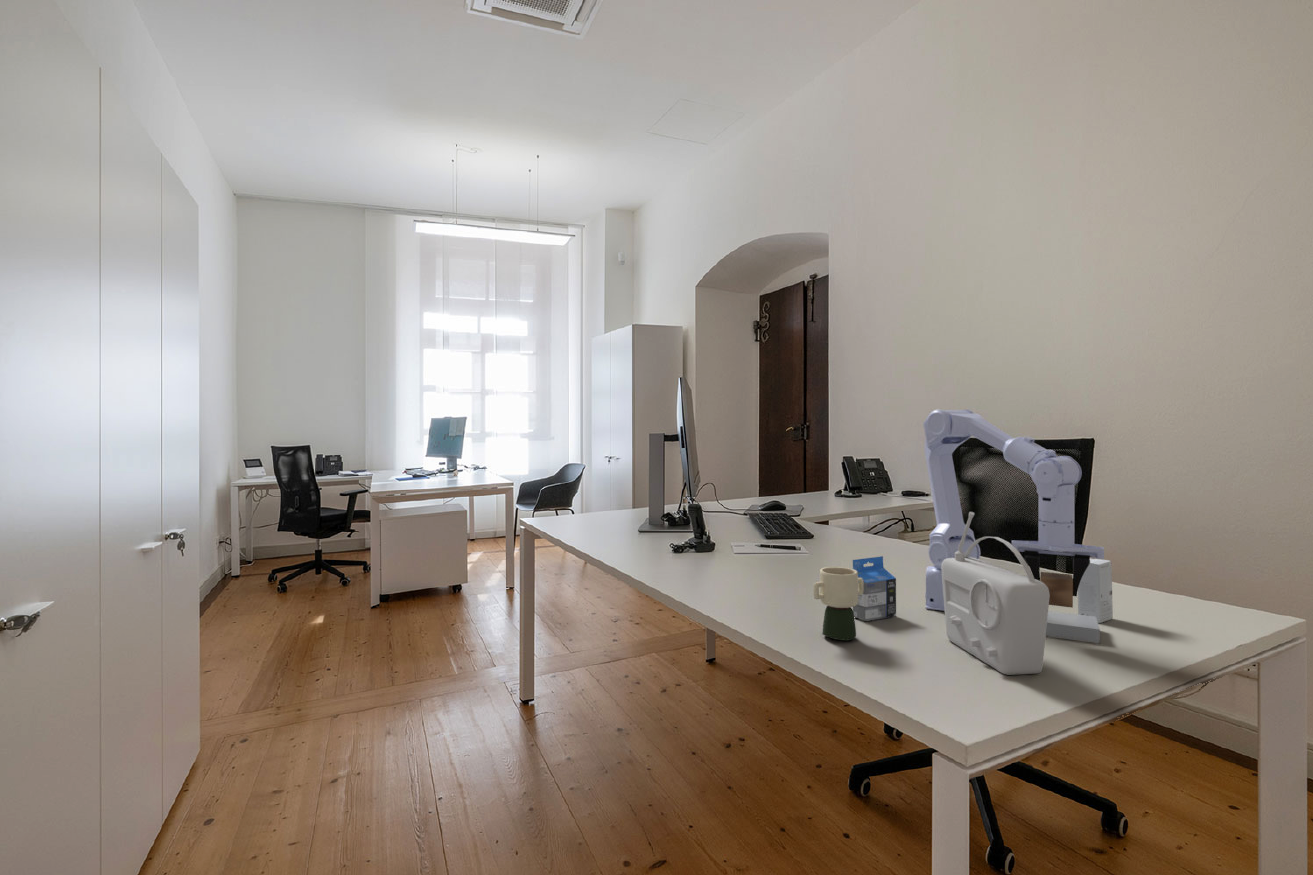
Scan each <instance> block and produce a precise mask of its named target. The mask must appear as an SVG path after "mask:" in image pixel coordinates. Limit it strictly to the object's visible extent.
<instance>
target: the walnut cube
mask: <svg viewBox="0 0 1313 875" xmlns="http://www.w3.org/2000/svg"><path fill="white" fill-rule="evenodd" d="M1040 581H1041V582H1043V583H1044V584H1045V585H1046V586H1047V587H1048V589H1049V594H1050V597H1049V606H1056V607H1062V608H1063V607H1065V608H1073V607H1074V605H1073V604H1074V598H1073V597H1074V596H1073V574H1070V573H1069V574H1068V573H1060V572H1049V571H1040Z"/></svg>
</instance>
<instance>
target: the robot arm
mask: <svg viewBox="0 0 1313 875" xmlns="http://www.w3.org/2000/svg"><path fill="white" fill-rule="evenodd" d="M923 430H924V435H925V441H924V447H923V448H924V455H925V462H926V467H927V473H928V474H927V475H928V479H929V486H930V491H931V497H932V504H933V509H934V514H935V516H934V517H935V521H936V526H935V528H933V530H932V531H931V532H930V533H929V536H928V537H929V547H928V558H929V560H930V561H931V564H933V566H931V565H929V566H927V567H926V572H925V596H924V597H925V609H927V610H934V611H935V610H936V611H942V612H945V608H944V595H943V582H942V570H941V566H942V562H943V560H945V559H947V558H955V552H957V551H958V547H959V544H960V541H961V539H962V536H963V533H964V530H965V527H966V523H965V521H964V517H963V510H962V506H961V500H960V494H959V488H958V483H957V477H956V476H957V475H956V471H955V465H954V460H953V454H954V452H955V450H956V449H957V448H958V447H959V446H960V445H962V444H964V442H966V441H968V440H969V439H970V438H972V437H973V438H976V439H978V440H980V441H981V442H983V443H985V444H987V445H989V446H991V447H993V448H994V449H996V450H999V451H1001V452H1002V453H1003V459H1004V460H1005V462H1007V463H1009V464H1011V465H1012V466H1014V467H1015V468H1017V469H1019V470H1021V471H1023V472H1024V473H1025V474H1028V475H1029V476H1030V478H1031V480H1032V482H1033V483H1034V485H1035V486H1036V494H1038V500H1037V501H1038V509H1037V510H1038V511H1037V512H1038V520H1037V521H1038V527H1037V528H1038V532H1037V533H1038V536H1037V537H1038V539H1037V540H1016V539H1015V540H1012V539H1011V545H1012V546H1013V547H1014V548H1015V549H1016V550H1017V551H1019V553H1020V552H1021V553H1023V552H1024V555H1023V556H1024V557H1023V558H1024V560H1025V562H1026V563H1027V565H1028V566H1029V569H1030V571H1031V573H1032V575H1033V578H1034V579H1036V580H1039V581H1041V570H1040V569H1041V568H1040V567H1041V565H1040V564H1041V563H1040V562H1041V561H1040V560H1041V559H1040V558H1041V557H1040V556H1041V555H1040V554H1044V555H1057V556H1070V557H1072V579H1073V597H1078V587H1079V584H1080V581H1081V579H1082V576H1083V574H1084V572H1085V571H1086V569H1087V567H1088V566H1089V564H1090V558H1093V559H1101V560H1105V548H1104V547H1103V546H1095V545H1087V544H1078V543H1075V493H1076V492H1075V491H1076V490H1075V485H1077V484H1078V483H1079V482H1080V480H1081V478H1082V474H1083V473H1082V467H1081V466H1080V464H1079V463H1078V462H1077V460H1075V459H1074V458H1073V457H1072V456H1069V455H1061V456H1058V455H1057V454H1056V451H1055V450H1053V449H1046V448H1045V447H1042V446H1041V445H1040V444H1038V443H1036V442H1035V438H1033V437H1031V436H1017V437H1013V436H1011V435H1010V434H1008V433H1006V432H1005V431H1003V430H1002V429H1001V428H998V427H997V426H995V425H994V424H992V423H991V422H990V421H988V420H986V419H985V418H983V417H982V415H981V414H979V413H975V412H974V411H972V410H969V409H959V410H958V409H957V410H955V409H954V410H953V409H952V410H949V409H948V410H947V409H946V410H945V409H944V410H943V409H935V410H932V411H931V412H930V413H929V414H928V416H927V417H926V419H925V420H924V421H923ZM952 537H953V538H952ZM975 540H976V538H975V533H974V531H973V530H972V529H971V528H970V527H969V529H968V532H967V535H966V538H965V540H964V543H963V546H962V549H961V551H963V552H964V553H966V551H967V549H968V548H969V547H970V545H971V544H972V543H973V542H974V541H975ZM1011 552H1012V553H1014V552H1013V551H1012V550H1011ZM969 558H976V559H979V560H980V558H981V548H980V545H979V543H978V544H977V545H976V546H975V547H974V548H973V549H972V552H971V554H970V556H969Z"/></svg>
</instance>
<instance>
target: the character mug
mask: <svg viewBox="0 0 1313 875" xmlns="http://www.w3.org/2000/svg"><path fill="white" fill-rule="evenodd" d="M863 591H864V588H863V579H862V578H858V572H857V571H856V570H854V569H853V568H849V567H841V566H827V567H826V566H825V567H822V568H820V570H819V581H816V582H814V583H813V598H814V600H820V601H821V603H822V604H823V605H826V608H825V610H824V616H823V623H822V635H823V636H826V637H829V638H831V639H832V638H834V639H833V640H838V641H839V640H840V641H851V640H854V639H855V638H857V631H856V630H857V628H856V622H855V618H854V614H853V607H854V606H856V605H857V604H858V595H861V594H863Z"/></svg>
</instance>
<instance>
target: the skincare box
mask: <svg viewBox="0 0 1313 875" xmlns="http://www.w3.org/2000/svg"><path fill="white" fill-rule="evenodd" d="M1112 572H1113V571H1112V561H1111V560H1108V559H1097V558H1091V557H1090V564H1089V566H1088V567H1087V569H1086V571H1085V572H1084V574H1083V576H1082V579H1081V581H1080V584H1079V587H1078V591H1077V612H1078V613H1077V614H1078V615H1087V616H1095V617H1096V619H1097V622H1098V624H1102V623H1103V622H1106V621H1110V620H1112V619H1113V617H1114V616H1113V613H1114V612H1113V610H1114V609H1113V606H1114V605H1113V575H1112V574H1113V573H1112Z"/></svg>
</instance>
